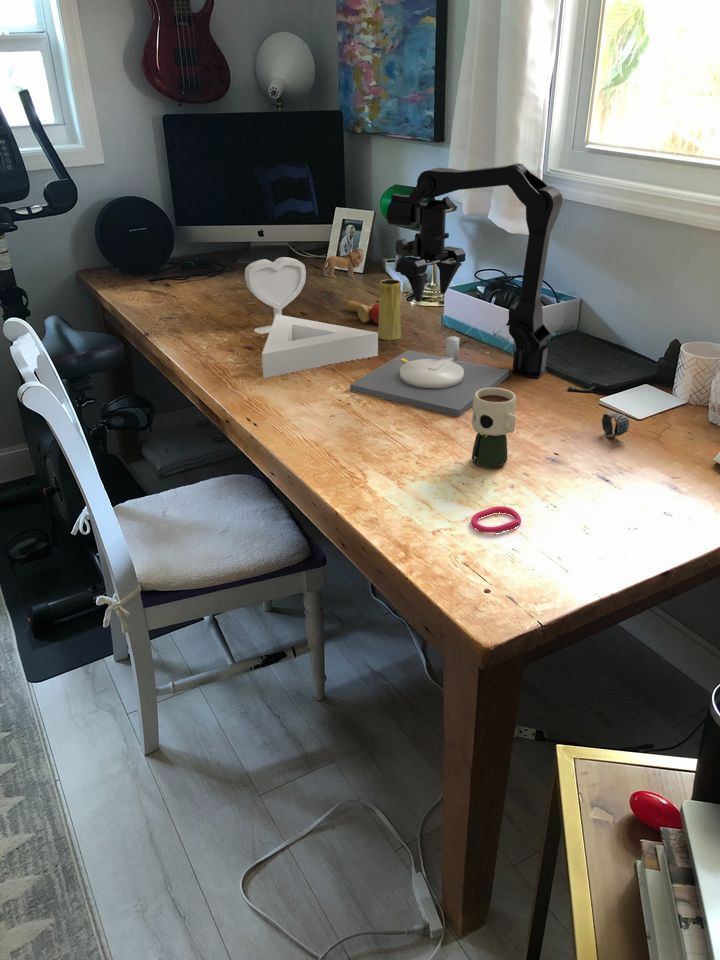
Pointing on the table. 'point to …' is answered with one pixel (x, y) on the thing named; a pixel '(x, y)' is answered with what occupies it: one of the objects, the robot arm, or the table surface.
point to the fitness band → (497, 528)
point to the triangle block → (313, 345)
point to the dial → (435, 369)
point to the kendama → (365, 311)
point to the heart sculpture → (275, 283)
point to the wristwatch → (620, 426)
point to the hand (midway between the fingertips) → (430, 297)
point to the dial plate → (441, 400)
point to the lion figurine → (344, 262)
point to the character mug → (492, 425)
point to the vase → (389, 310)
